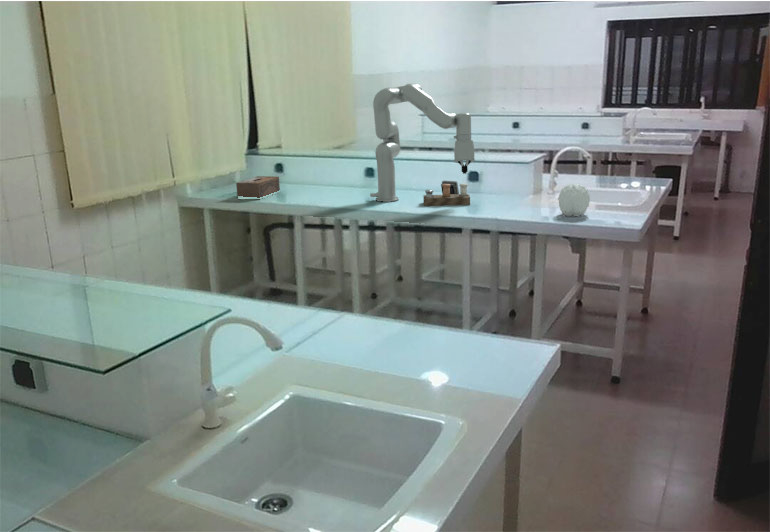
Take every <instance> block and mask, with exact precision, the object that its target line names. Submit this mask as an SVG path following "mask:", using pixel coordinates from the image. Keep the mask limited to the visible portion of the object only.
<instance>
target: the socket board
mask: <svg viewBox="0 0 770 532" xmlns="http://www.w3.org/2000/svg"><path fill="white" fill-rule="evenodd" d="M443 205H447V206H471V197H470V194H469V193H467V196H465V197H460V193H459V194H451V195H450V197H443V194H433V197H426V194H424V195H423V206H424V207H436V206H437V207H439V206H443Z"/></svg>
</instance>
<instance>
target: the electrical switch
mask: <svg viewBox="0 0 770 532" xmlns="http://www.w3.org/2000/svg"><path fill="white" fill-rule="evenodd" d="M442 184H450V195H451V194H460V191H459V184H458V181H456V180H442V181H441V183H440V187H441V193H442V194H441V195H443V187H442Z"/></svg>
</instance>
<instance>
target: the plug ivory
mask: <svg viewBox="0 0 770 532" xmlns="http://www.w3.org/2000/svg"><path fill="white" fill-rule="evenodd" d="M468 185H469V184H468V183H459V187H460V188H459V189H460V191H459V194H460V197H465V196H467V194H468V188H467V187H468Z"/></svg>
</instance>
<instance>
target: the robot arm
mask: <svg viewBox="0 0 770 532" xmlns="http://www.w3.org/2000/svg"><path fill="white" fill-rule="evenodd" d="M407 102H408V103H410V104H411V105H413V106H414V107H415V108H417V109H418V110H419V111H421V112H422V113H423V114H424V115H425V117H427V118H428V119H429V121H431V122H432V123H434V124H435V125H436V126H438V127H439V128H441V129H445V130H448V129H451V128H456V131H455V132H456V134H455V135H453V139H455V141H454V152H453V153H454V156H453V157H454V159H453V163H456V164H458V165H460V166H461V173H462V174H463V175H464V174H465V175H466V174H467V173H468V171H469V170H468V166H469V165H470V164H471V163H474V162H475V161H476V160H475V145H474V144H475V143H474V140H473V139H472V115H471V113H469V112H460V113H455V112H448V113H447V112H445V111H444V110H442V109H441V108H440V107H438V106H437V104H435V101H434V99H433V97H432V96H430V95H429V94H428V93H426V92H425V91H423V89H422V87H421V85H419V84H418V83H407V84H405V85H402V86H401V85H400V86H396V87H384V88H382V89H380V90H379V91H378V92H376V94H375V95H374V98H373V101H372V103H373V104H372V106H373V115H374V127H375V128H374V129H375V135H376V137H377V138H378V139H379V140H383V142H380V143H379V144H378V145H377V146H376V148H375V150H374V151H375V153H374V154H375V160H376V165H377V166H376V169H377V171H376V172H377V192H370V197H372V198H375V201H376V200H377V201H376V202H379V201H383V202H382V203H388V202H389V203H391V201H392V202H396V201H399V197H398V196H396V167H395V162H394V158H396V157H398V155H400V152H401V143H400V131H399V127H398V125H397V124H396V122H395V121H393V120H391V111H390V108H389V105H394V104H395V105H397V104H401V103H407ZM464 161H465V164H464Z"/></svg>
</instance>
